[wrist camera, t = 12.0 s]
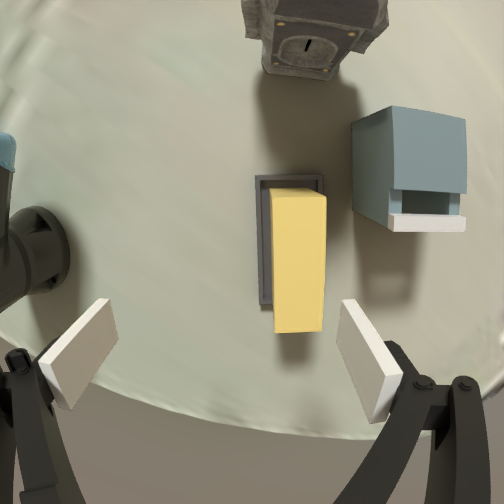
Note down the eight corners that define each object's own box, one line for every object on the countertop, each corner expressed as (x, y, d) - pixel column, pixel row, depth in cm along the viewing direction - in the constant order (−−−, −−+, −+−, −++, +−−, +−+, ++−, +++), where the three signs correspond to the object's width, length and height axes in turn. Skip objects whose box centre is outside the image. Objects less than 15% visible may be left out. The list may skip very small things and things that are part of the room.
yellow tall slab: (271, 288, 42) (274, 333, 31) (269, 188, 39) (272, 197, 27) (306, 287, 42) (321, 331, 31) (307, 187, 38) (326, 196, 27)
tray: (259, 299, 44) (259, 304, 42) (255, 175, 39) (255, 175, 37) (318, 297, 43) (320, 302, 42) (320, 174, 38) (322, 174, 37)
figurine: (349, 86, 35) (445, 8, 11) (245, 74, 35) (222, -36, 11) (349, 29, 32) (422, -71, 8) (250, 17, 32) (238, -106, 8)
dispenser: (352, 209, 40) (393, 231, 26) (351, 123, 36) (392, 105, 23) (410, 210, 39) (465, 231, 26) (410, 129, 36) (466, 118, 22)
